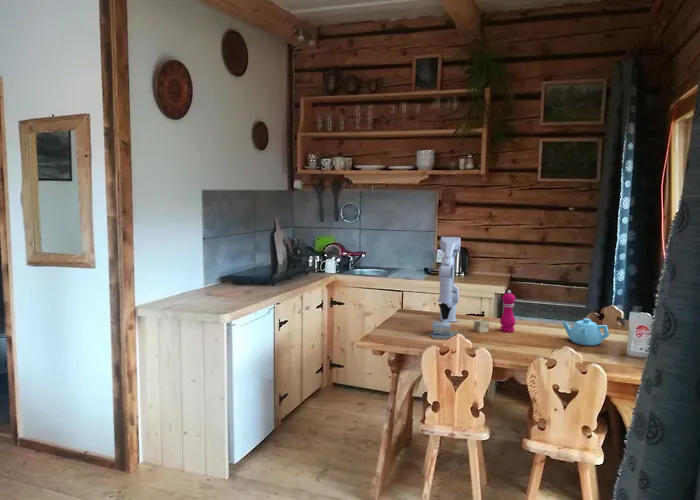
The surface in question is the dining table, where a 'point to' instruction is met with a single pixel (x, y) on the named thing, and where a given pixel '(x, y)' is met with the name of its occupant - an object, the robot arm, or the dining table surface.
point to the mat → (444, 335)
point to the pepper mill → (508, 313)
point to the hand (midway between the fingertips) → (444, 319)
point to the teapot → (586, 332)
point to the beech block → (481, 326)
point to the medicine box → (441, 328)
